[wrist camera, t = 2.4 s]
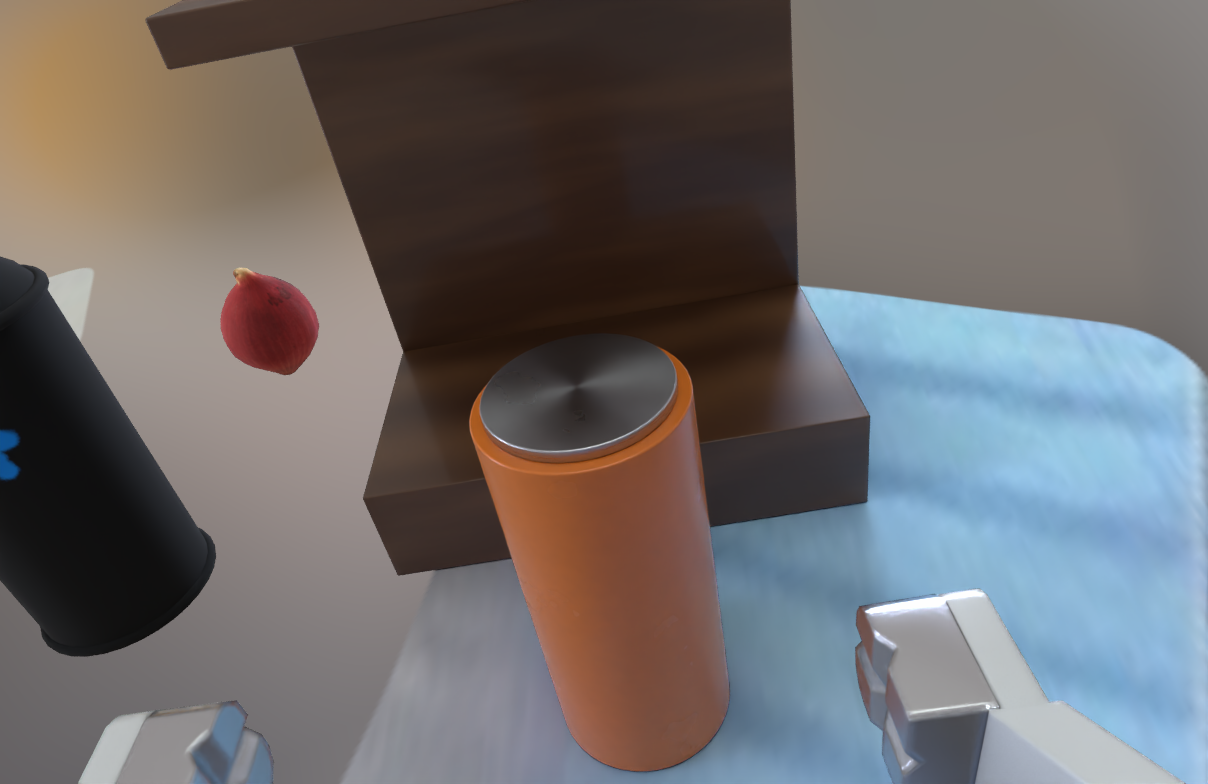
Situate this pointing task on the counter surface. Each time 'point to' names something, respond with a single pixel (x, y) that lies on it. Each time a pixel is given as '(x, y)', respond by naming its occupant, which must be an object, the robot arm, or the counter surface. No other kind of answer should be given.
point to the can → (611, 541)
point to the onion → (268, 323)
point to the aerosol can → (82, 490)
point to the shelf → (567, 227)
